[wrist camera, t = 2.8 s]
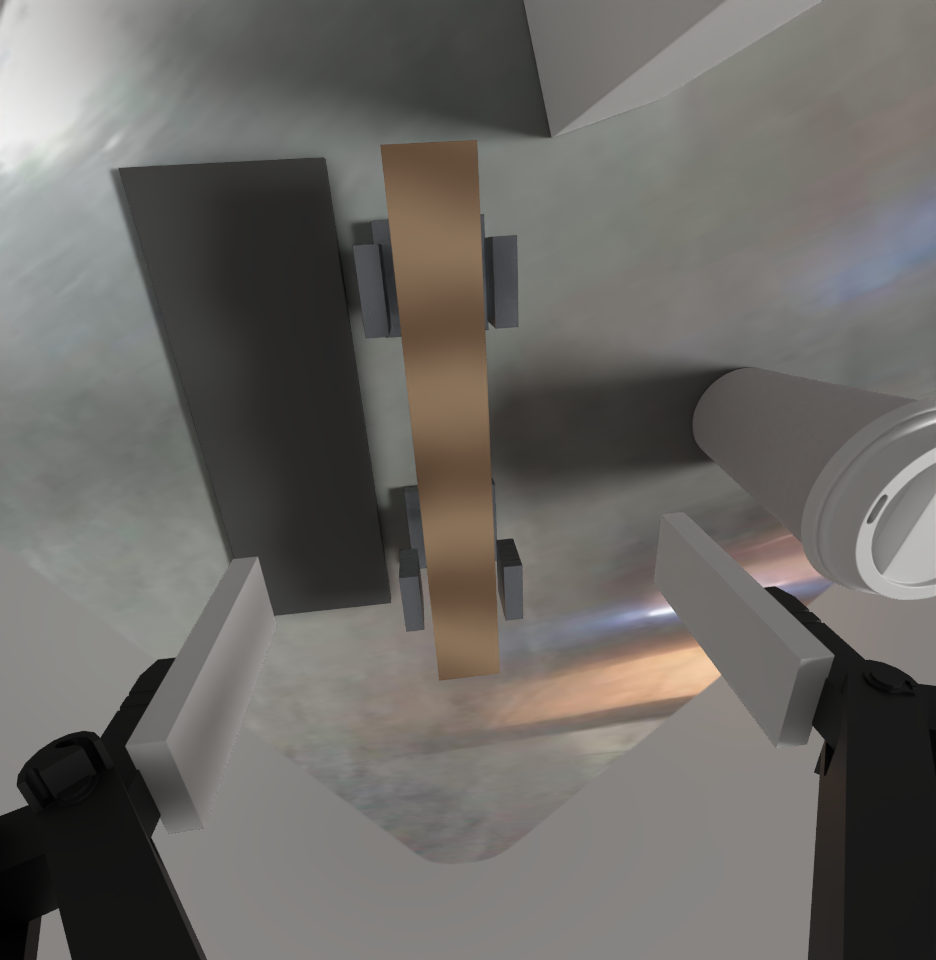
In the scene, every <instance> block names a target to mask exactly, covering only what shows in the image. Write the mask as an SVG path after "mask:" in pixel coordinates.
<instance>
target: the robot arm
mask: <svg viewBox="0 0 936 960" xmlns="http://www.w3.org/2000/svg"><path fill="white" fill-rule="evenodd" d="M654 584H655V585H656V587H657V588H658V589H659V591H660V592H661V593H662V595H663V596H664V597H665V599H666V600H667V601H668V603H669V604H670V606H671V607H672V608H673V610H674V611H675V612H676V614H677V615H678V616H679V618H680V619H681V620H682V622H683V623H684V624H685V626H686V627H687V629H688V630H689V631H690V633H691V634H692V635H693V637H694V638H695V639H696V641H697V642H698V643H699V645H700V646H701V647H702V649H703V650H704V652H705V653H706V654H707V656H708V657H709V658H710V660H711V661H712V662H713V664H714V665H715V666H716V668H717V669H718V671H719V672H720V673H721V675H722V676H723V677H724V679H725V680H726V681H727V683H728V684H729V685H730V687H731V688H732V689H733V691H734V692H735V694H736V695H737V696H738V698H739V699H740V700H741V702H742V703H743V704H744V706H745V707H746V708H747V710H748V711H749V712H750V714H751V715H752V717H753V718H754V719H755V721H756V722H757V723H758V725H759V726H760V727H761V729H762V730H763V731H764V733H765V734H766V736H767V737H768V738H769V740H770V741H771V742H772V744H773V745H774V746H775V748H784V747H790V746H798V745H805V744H807V742H808V739H809V736H810V732H811V729H812V726H814V728H815V729H816V730H817V731H818V732H819V733H820V735H821V736H822V737H823V738H824V739H825V741H824V744H823V747H822V750H821V753H820V756H819V759H818V762H817V765H816V768H815V771H814V773H817V774H819V775H820V780H819V796H818V811H817V827H816V842H815V858H814V873H813V889H812V904H811V920H810V935H809V936H810V937H809V952H808V960H936V686H932V685H923V684H918V683H917V682H916V681H915V680H913V678H912V677H910V676H909V675H908V674H906V673H904V672H902V671H901V670H899V669H898V668H896V667H893V666H890V665H888V664H885V663H882V662H878V661H873V660H865V659H864V658H863V657H861V656H860V655H859V654H858V653H857V652H856V651H855V650H854V649H853V648H851V647H850V646H849V645H848V644H847V643H846V642H845V641H844V640H843V639H841V638H840V637H839V636H838V635H837V634H836V633H835V632H834V631H832V630H831V629H830V628H829V627H828V626H827V625H826V624H825V623H821V620H820V619H819V618H818V617H817V616H816V615H815V614H813V613H812V612H809V609H808V608H807V607H806V606H804V605H803V604H802V603H801V602H800V601H799V600H798V599H797V598H796V597H794V596H792V595H790V594H789V593H787V592H785V591H783V590H781V589H779V588H777V587H775V586H774V587H765V588H763V587H762V586H761V585H760V584H759V583H758V582H757V581H756V580H755V579H754V578H753V577H752V576H750V575H749V574H748V573H747V572H746V571H745V570H744V569H743V568H742V567H741V566H740V565H739V564H738V563H737V562H736V561H735V560H734V559H733V558H731V557H730V556H729V555H728V554H727V553H726V552H725V551H724V550H723V549H722V548H721V547H720V546H719V545H718V544H717V543H716V542H715V541H714V540H712V539H711V538H710V537H709V536H708V535H707V534H706V533H705V532H704V531H703V530H702V529H701V528H700V527H699V526H698V525H697V524H696V523H695V522H694V521H692V520H691V519H690V518H689V517H688V516H687V515H686V514H685V513H684V512H680V513H671V514H661V523H660V532H659V541H658V550H657V559H656V568H655V577H654ZM276 626H277V625H276V622H275V618H274V614H273V611H272V607H271V603H270V599H269V596H268V592H267V588H266V585H265V581H264V577H263V574H262V570H261V566H260V563H259V559H258V557H249V558H240V559H233V560H232V562H231V563H230V565H229V567H228V569H227V570H226V572H225V574H224V576H223V577H222V579H221V581H220V582H219V584H218V586H217V588H216V589H215V591H214V593H213V595H212V596H211V598H210V600H209V602H208V603H207V605H206V607H205V608H204V610H203V612H202V614H201V615H200V617H199V619H198V621H197V622H196V624H195V626H194V628H193V629H192V631H191V633H190V634H189V636H188V638H187V640H186V641H185V643H184V645H183V647H182V648H181V650H180V652H179V654H178V655H177V657H176V658H168V659H159V660H157V661H156V662H155V663H154V664H153V665H151V666H150V667H149V668H148V669H147V670H146V671H145V672H144V673H142V674H141V675H140V676H139V678H138V680H137V681H136V683H135V684H134V686H133V688H132V689H131V691H130V692H129V696H127V697H126V698H125V700H124V702H123V703H122V705H121V706H120V711H117V713H116V714H115V716H114V717H113V719H112V720H111V722H110V724H109V725H108V727H107V728H106V730H105V731H104V733H103V734H102V736H101V738H100V737H99V736H98V735H97V734H96V733H94V732H88V731H81V732H76V733H71V734H68V735H65V736H63V737H61V738H59V739H57V740H54V741H52V742H51V743H49V744H48V745H46V746H45V747H43V748H42V749H40V750H39V751H38V752H37V753H36V754H35V755H34V756H32V758H30V760H28V761H27V762H26V763H25V765H24V767H23V768H22V770H21V771H20V773H19V774H18V779H17V787H18V789H19V790H20V792H21V794H22V795H23V797H24V798H25V799H26V801H27V803H28V804H29V805H28V806H25V807H22V808H20V809H17V810H15V811H12V812H9V813H7V814H4V815H2V816H0V960H36V958H37V951H38V942H39V934H40V925H41V917H42V915H45V914H47V913H49V912H51V911H53V910H56V909H58V908H59V911H60V915H61V919H62V923H63V927H64V931H65V934H66V938H67V942H68V946H69V950H70V954H71V958H72V960H207V959H206V956H205V954H204V952H203V950H202V948H201V945H200V943H199V941H198V939H197V936H196V934H195V932H194V930H193V928H192V925H191V923H190V921H189V919H188V917H187V915H186V912H185V910H184V908H183V906H182V903H181V901H180V899H179V897H178V895H177V892H176V890H175V888H174V886H173V884H172V881H171V879H170V877H169V875H168V872H167V870H166V868H165V866H164V864H163V862H162V859H161V857H160V855H159V853H158V851H157V848H156V846H155V844H154V842H153V840H152V838H151V836H152V834H153V832H154V830H155V827H156V825H157V823H158V821H159V818H161V821H162V823H163V825H164V827H165V829H166V831H167V833H168V834H172V833H179V832H186V831H193V830H200V829H204V828H205V826H206V823H207V820H208V817H209V814H210V812H211V808H212V806H213V803H214V800H215V798H216V795H217V792H218V789H219V786H220V784H221V781H222V778H223V775H224V772H225V769H226V767H227V764H228V761H229V758H230V755H231V753H232V750H233V747H234V744H235V741H236V738H237V736H238V733H239V730H240V727H241V725H242V722H243V719H244V716H245V713H246V711H247V708H248V705H249V702H250V699H251V697H252V694H253V691H254V688H255V685H256V683H257V680H258V677H259V674H260V671H261V669H262V666H263V663H264V660H265V657H266V655H267V652H268V649H269V646H270V643H271V640H272V638H273V635H274V632H275V629H276Z"/></svg>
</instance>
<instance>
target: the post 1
mask: <svg viewBox="0 0 936 960" xmlns="http://www.w3.org/2000/svg"><path fill="white" fill-rule="evenodd" d="M480 222H481V246H482V269H483V292H484V316H485V330H489V328H488V322H489V323H490V324H491V325H492V326H493V327H495V328H496V329H497V328H511V327H518V267H517V235H512V236H496V237H488V238H485V228H484V214H480ZM371 226H372V234H373V242H374V244H369V245H354V246H353V251H354V258H355V265H356V272H357V280H358V287H359V294H360V301H361V308H362V316H363V323H364V330H365V337H366V338H377V337H385V338H388V337H401V327H400V318H399V309H398V300H397V290H396V281H395V272H394V263H393V254H392V245H391V236H390V227H389V220H379V221H371Z"/></svg>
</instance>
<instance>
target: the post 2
mask: <svg viewBox="0 0 936 960" xmlns="http://www.w3.org/2000/svg"><path fill="white" fill-rule="evenodd" d="M491 480H492V503H493V527H494V550H495V561H497V575H498V592H499V596H500V600H501V604H502V608H503V612H504V616H505V620H515V619H523V580H522V563H521V560H520V557H519V554H518V552H517V549H516V546H515V543H514V540H513V539H503V540H497V529H496V504H495V484H494V481H493V479H491ZM404 494H405V502H406V510H407V518H408V526H409V534H410V542H411V549H405V550H400V567H399V582H400V589H401V596H402V603H403V611H404V618H405V625H406V632H408V631H417V630H424V602H423V591H422V582H421V574H420V569H421V568H427V563H426V554H425V545H424V536H423V527H422V518H421V509H420V500H419V490H418V486H408V487H405V492H404Z"/></svg>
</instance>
